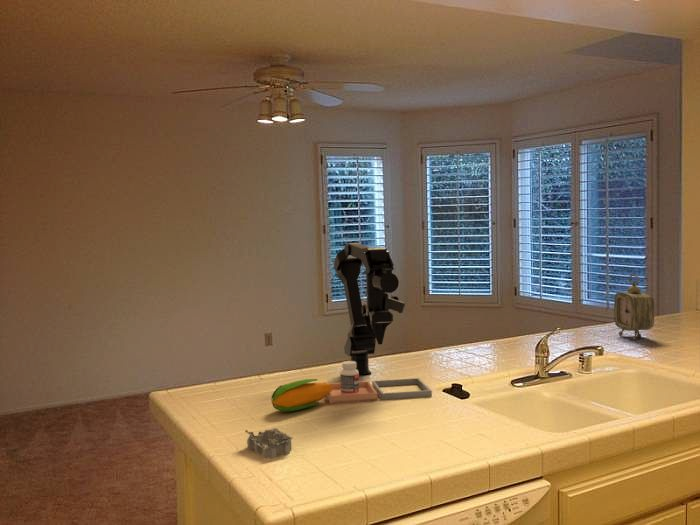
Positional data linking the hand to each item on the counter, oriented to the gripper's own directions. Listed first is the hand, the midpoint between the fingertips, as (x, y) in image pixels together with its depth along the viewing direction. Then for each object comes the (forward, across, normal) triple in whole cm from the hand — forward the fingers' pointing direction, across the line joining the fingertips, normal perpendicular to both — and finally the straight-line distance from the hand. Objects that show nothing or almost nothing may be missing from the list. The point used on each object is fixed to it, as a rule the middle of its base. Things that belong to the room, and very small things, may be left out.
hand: (377, 341), depth 195 cm
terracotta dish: (+13, -10, +10) cm, 19 cm away
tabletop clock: (+13, +44, -111) cm, 120 cm away
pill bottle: (+13, -10, +10) cm, 19 cm away
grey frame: (+13, -9, -5) cm, 17 cm away
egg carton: (+14, -48, +34) cm, 60 cm away
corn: (+13, -18, +24) cm, 33 cm away
